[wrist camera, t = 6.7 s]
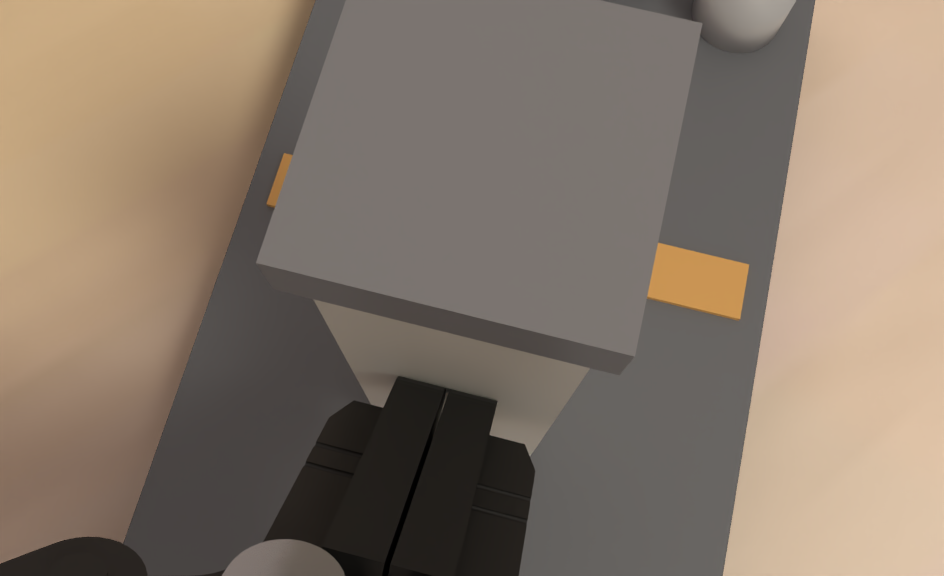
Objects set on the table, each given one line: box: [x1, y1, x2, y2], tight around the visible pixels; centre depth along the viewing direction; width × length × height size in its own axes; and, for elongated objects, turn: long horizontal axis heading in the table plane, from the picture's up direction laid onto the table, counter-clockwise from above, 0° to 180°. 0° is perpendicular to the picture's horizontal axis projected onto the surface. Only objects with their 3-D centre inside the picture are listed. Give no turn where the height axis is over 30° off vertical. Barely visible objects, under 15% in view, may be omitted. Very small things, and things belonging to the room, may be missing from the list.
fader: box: [256, 0, 703, 456], centre depth 13 cm, size 3×3×10 cm
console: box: [123, 0, 815, 576], centre depth 17 cm, size 11×24×4 cm, turn 166°
